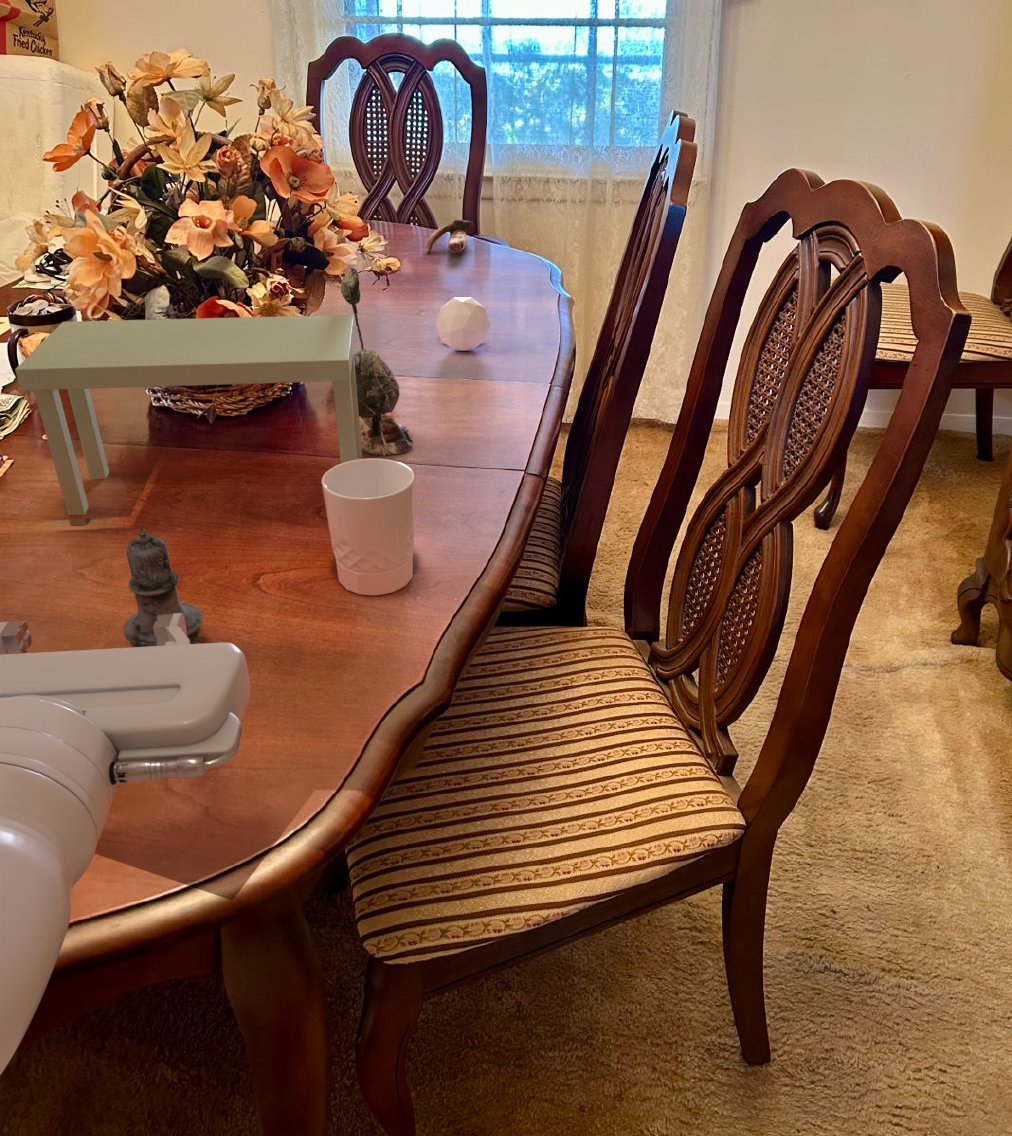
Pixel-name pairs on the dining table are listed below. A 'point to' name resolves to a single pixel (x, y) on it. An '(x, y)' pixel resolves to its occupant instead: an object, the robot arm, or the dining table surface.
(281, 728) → the dining table surface
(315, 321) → the side table
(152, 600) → the salt shaker
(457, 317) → the geometric ball
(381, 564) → the white cup
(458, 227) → the lashed bone hook
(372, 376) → the plant with pod
